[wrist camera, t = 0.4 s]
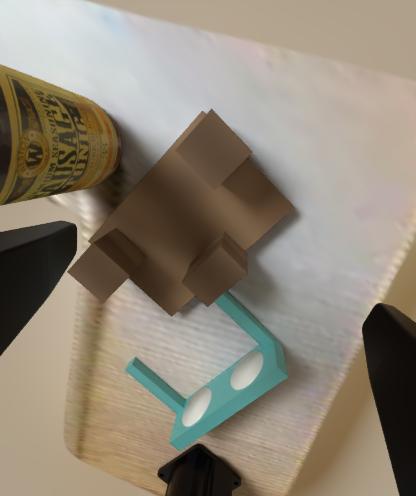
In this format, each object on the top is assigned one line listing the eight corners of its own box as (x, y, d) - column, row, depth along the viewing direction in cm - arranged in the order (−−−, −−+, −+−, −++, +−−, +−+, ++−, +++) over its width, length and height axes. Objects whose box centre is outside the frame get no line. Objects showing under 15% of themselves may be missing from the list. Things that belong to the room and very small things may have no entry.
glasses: (188, 413, 30) (180, 451, 26) (128, 362, 29) (111, 395, 25) (282, 344, 27) (289, 378, 23) (218, 284, 25) (214, 308, 22)
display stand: (172, 314, 27) (157, 350, 22) (91, 240, 26) (56, 262, 21) (298, 201, 23) (313, 216, 18) (209, 106, 21) (199, 95, 17)
